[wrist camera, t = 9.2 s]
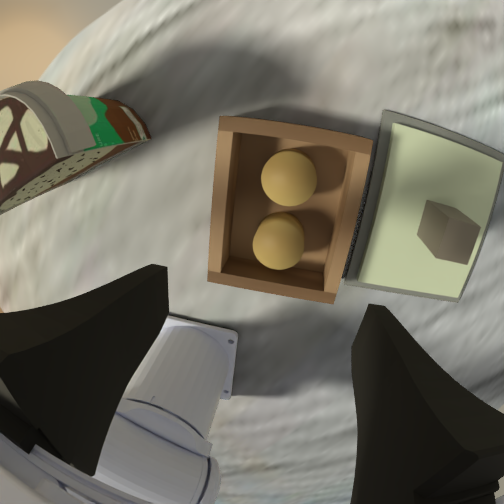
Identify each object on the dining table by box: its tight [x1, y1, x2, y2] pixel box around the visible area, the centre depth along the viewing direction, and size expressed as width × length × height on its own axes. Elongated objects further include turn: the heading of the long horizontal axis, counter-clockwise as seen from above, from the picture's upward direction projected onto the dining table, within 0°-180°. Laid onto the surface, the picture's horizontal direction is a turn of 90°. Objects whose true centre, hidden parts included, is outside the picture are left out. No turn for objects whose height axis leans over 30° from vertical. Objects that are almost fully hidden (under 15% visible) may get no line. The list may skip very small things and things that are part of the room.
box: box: [207, 116, 373, 304], centre depth 18 cm, size 10×8×3 cm
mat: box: [344, 110, 504, 303], centre depth 17 cm, size 12×10×1 cm
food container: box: [0, 81, 152, 215], centre depth 14 cm, size 12×6×10 cm, turn 108°
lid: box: [357, 123, 503, 298], centre depth 15 cm, size 11×9×4 cm
